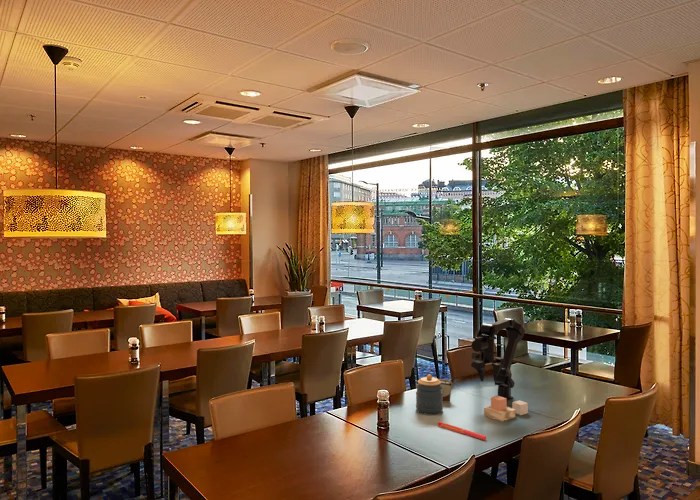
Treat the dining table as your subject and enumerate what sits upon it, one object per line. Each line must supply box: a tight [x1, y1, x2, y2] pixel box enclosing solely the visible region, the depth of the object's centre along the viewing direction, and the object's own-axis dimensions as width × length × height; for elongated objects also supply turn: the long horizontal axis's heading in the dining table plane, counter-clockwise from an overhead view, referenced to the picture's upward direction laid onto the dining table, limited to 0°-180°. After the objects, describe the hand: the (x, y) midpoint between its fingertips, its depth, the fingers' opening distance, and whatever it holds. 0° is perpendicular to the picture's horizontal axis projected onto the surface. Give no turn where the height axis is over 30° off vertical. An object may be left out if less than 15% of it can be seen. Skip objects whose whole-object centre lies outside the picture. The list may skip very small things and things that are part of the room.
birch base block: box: [483, 405, 516, 422], centre depth 244 cm, size 10×10×4 cm
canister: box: [415, 373, 444, 416], centre depth 252 cm, size 13×13×18 cm
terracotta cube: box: [490, 395, 508, 411], centre depth 244 cm, size 5×5×5 cm
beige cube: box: [511, 399, 529, 416], centre depth 248 cm, size 5×5×5 cm
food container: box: [437, 378, 454, 403], centre depth 269 cm, size 12×6×10 cm, turn 84°
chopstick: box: [437, 421, 487, 441], centre depth 224 cm, size 24×2×5 cm
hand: (488, 379), depth 262 cm, fingers open, 9 cm apart
